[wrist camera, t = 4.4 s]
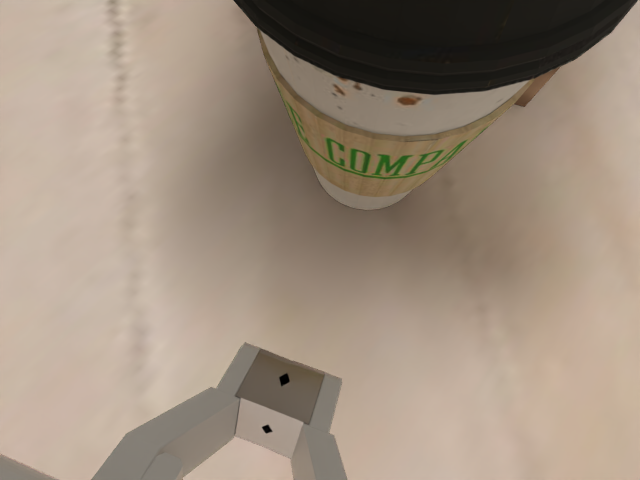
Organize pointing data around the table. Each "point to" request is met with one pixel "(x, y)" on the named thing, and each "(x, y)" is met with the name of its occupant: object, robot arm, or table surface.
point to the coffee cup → (411, 77)
